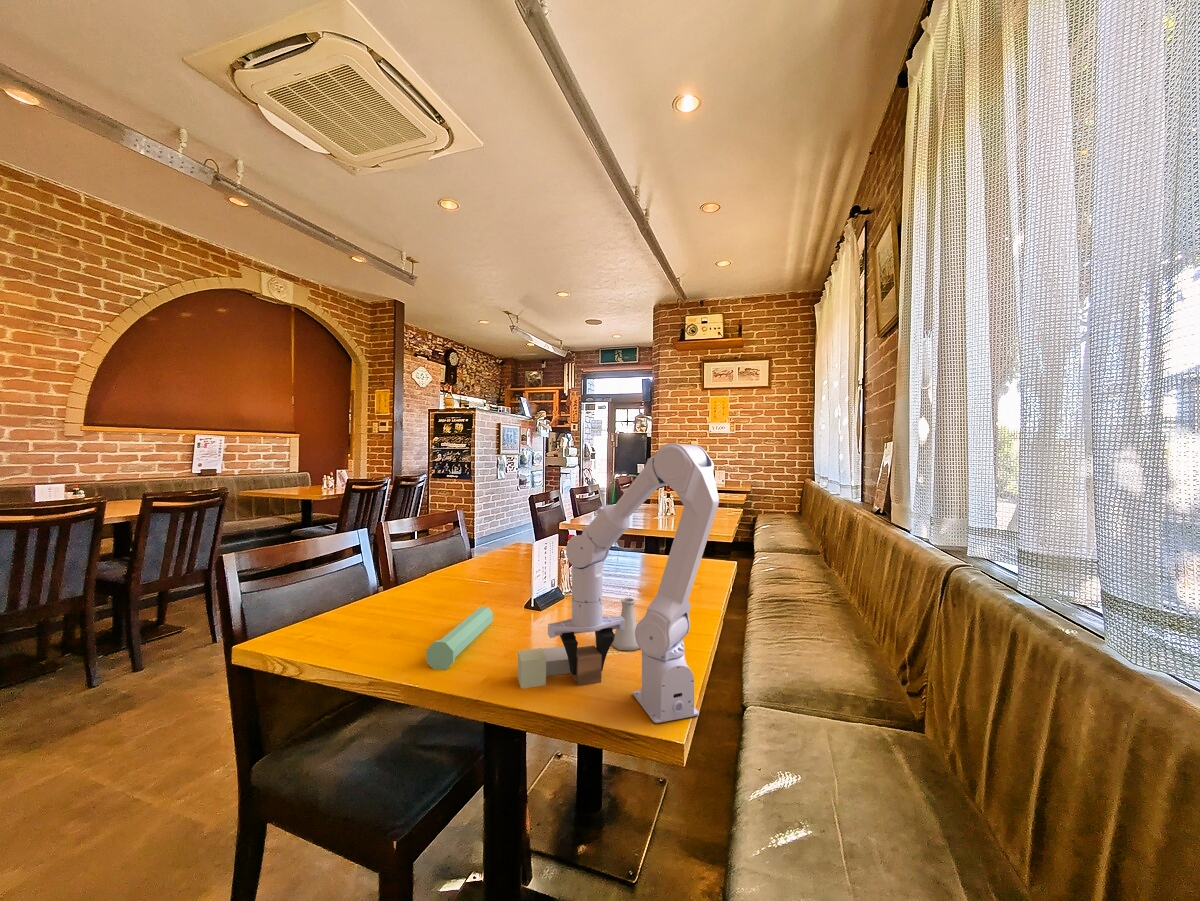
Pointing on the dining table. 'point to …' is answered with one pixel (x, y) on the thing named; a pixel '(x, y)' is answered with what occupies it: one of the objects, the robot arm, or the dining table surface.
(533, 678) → the sage block
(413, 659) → the dining table surface
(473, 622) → the green octagonal rod
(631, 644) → the flask
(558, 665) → the stone slab
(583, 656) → the walnut block
